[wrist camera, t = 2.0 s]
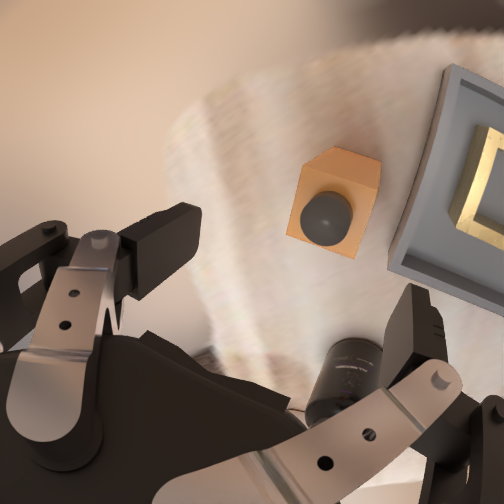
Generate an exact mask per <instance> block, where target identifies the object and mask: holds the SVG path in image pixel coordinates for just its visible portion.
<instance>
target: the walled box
mask: <svg viewBox="0 0 504 504" xmlns="http://www.w3.org/2000/svg"><path fill="white" fill-rule="evenodd" d="M476 125H480V126H487V127H491V128H493V129H494V130H496V131H498V132H500V133H502V134H504V88H503V87H501V86H499V85H497V84H495V83H493V82H491V81H489V80H487V79H485V78H483V77H481V76H479V75H477V74H475V73H473V72H471V71H469V70H466V69H464V68H462V67H460V66H457V65H455V64H453V63H452V64H451V65H450V66H448V67H447V68H446V69H445V70H444V71H443V76H442V81H441V86H440V90H439V95H438V99H437V103H436V108H435V112H434V116H433V120H432V123H431V127H430V131H429V135H428V138H427V142H426V145H425V149H424V152H423V155H422V159H421V162H420V165H419V168H418V171H417V175H416V178H415V181H414V184H413V187H412V190H411V193H410V195H409V198H408V201H407V204H406V207H405V210H404V212H403V215H402V218H401V220H400V223H399V226H398V228H397V231H396V233H395V236H394V239H393V241H392V244H391V246H390V249H389V251H388V268H387V270H389V271H391V272H394V273H397V274H399V275H402V276H404V277H407V278H409V279H412V280H415V281H417V282H420V283H422V284H425V285H427V286H430V287H432V288H435V289H437V290H440V291H442V292H445V293H447V294H450V295H452V296H455V297H457V298H460V299H462V300H464V301H467V302H469V303H472V304H474V305H477V306H479V307H481V308H484V309H486V310H489V311H491V312H493V313H496V314H498V315H500V316H503V317H504V251H503V250H501V249H499V248H497V247H495V246H493V245H491V244H489V243H487V242H485V241H482V240H480V239H478V238H476V237H474V236H472V235H470V234H467V233H465V232H463V231H461V230H458V229H456V228H455V227H454V225H453V223H452V221H451V219H450V217H449V215H448V213H447V212H448V210H449V207H450V205H451V202H452V199H453V196H454V194H455V191H456V188H457V185H458V182H459V179H460V177H461V174H462V171H463V167H464V164H465V161H466V158H467V155H468V151H469V148H470V144H471V141H472V137H473V134H474V130H475V126H476ZM476 213H478V214H480V215H482V216H484V217H486V218H488V219H490V220H492V221H494V222H496V223H498V224H500V225H502V226H504V153H503V152H501V151H500V150H498V149H497V152H496V156H495V159H494V162H493V165H492V169H491V172H490V175H489V178H488V181H487V183H486V186H485V189H484V192H483V195H482V197H481V200H480V203H479V205H478V208H477V210H476Z"/></svg>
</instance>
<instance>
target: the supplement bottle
mask: <svg viewBox="0 0 504 504" xmlns="http://www.w3.org/2000/svg"><path fill="white" fill-rule="evenodd" d="M382 354H383V352H382V351H381V349H380V348H378V347H377V346H376V345H374V344H373V343H371V342H368V341H365V340H360V339H349V340H345V341H342V342H339V343H337V344H336V345H334V346H333V347H332V348H331V349H330V350H329V352H328V354H327V356H326V359H325V361H324V364H323V366H322V369H321V371H320V374H319V376H318V379H317V381H316V384H315V386H314V389H313V391H312V394H311V396H310V399H309V401H308V403H307V406H306V409H305V413H304V416H305V422H306V424H307V426H308V430H309V429H311V428H312V427H314V426H316V425H318V424H320V423H322V422H324V421H326V420H327V419H329V418H331V417H333V416H335V415H336V414H338V413H340V412H342V411H343V410H345V409H347V408H348V407H350V406H352V405H353V404H355V403H357V402H358V401H360V400H362V399H363V398H365V397H366V396H368V395H370V394H371V393H373V392H374V391H376V390H377V389H378V384H379V377H380V370H381V362H382Z"/></svg>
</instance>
